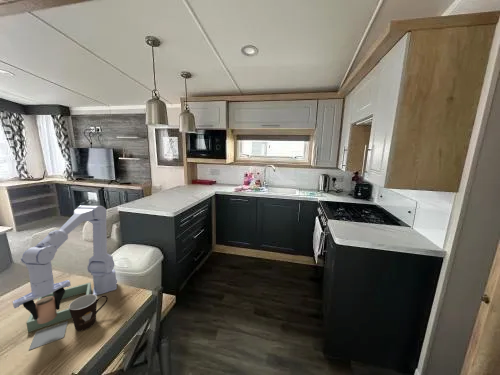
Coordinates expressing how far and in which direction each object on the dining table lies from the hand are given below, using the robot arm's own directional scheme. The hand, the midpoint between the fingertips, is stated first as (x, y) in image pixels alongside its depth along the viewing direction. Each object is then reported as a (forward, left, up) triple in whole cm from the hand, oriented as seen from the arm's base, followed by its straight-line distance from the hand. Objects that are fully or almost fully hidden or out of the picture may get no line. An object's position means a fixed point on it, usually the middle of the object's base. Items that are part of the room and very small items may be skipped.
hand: (46, 313), depth 74 cm
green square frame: (-2, -15, -9) cm, 17 cm away
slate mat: (0, 0, -9) cm, 9 cm away
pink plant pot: (0, 0, -2) cm, 2 cm away
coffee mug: (-12, +2, -9) cm, 15 cm away
